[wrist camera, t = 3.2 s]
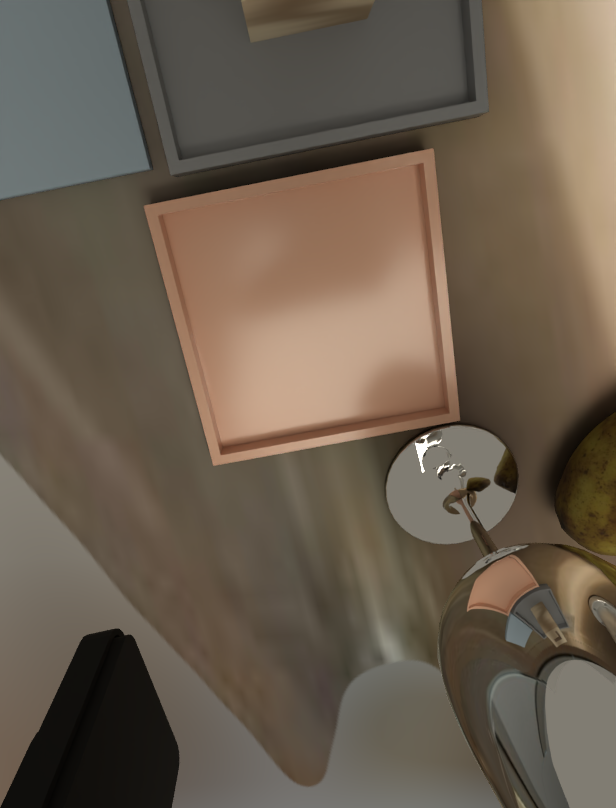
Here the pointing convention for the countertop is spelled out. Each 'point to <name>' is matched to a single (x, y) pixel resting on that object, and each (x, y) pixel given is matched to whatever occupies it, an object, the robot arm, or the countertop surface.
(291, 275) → the terracotta tray
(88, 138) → the mat
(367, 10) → the letter cube
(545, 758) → the wineglass
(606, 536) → the potato
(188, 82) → the charcoal tray
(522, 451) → the countertop surface
